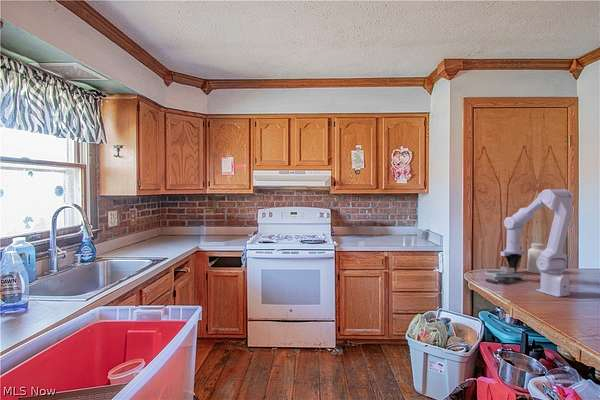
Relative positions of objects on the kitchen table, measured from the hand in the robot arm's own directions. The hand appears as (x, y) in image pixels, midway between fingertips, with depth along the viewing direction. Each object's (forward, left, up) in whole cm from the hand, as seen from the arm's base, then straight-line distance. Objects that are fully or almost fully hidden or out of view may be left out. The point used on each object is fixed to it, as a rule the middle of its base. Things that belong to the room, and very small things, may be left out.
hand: (512, 269), depth 165 cm
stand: (0, +6, -5) cm, 8 cm away
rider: (0, +4, -2) cm, 4 cm away
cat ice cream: (+9, -12, -5) cm, 16 cm away
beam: (0, +6, -2) cm, 6 cm away
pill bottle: (+6, -26, -5) cm, 27 cm away
